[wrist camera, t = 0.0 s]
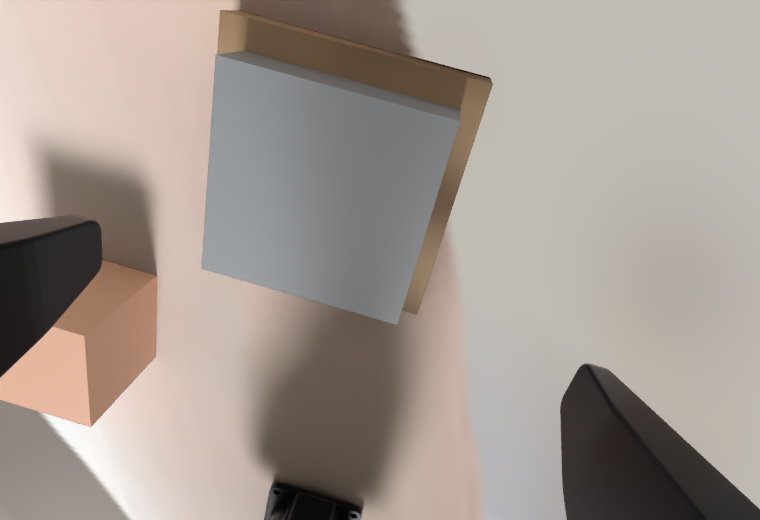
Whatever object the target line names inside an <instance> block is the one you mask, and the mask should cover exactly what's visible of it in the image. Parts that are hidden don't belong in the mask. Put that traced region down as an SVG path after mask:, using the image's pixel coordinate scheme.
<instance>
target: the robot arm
mask: <svg viewBox="0 0 760 520" xmlns="http://www.w3.org/2000/svg"><path fill="white" fill-rule="evenodd" d="M101 266H102V239H101V228H100V225H99V224H98V223H97V222H96V221H94V220H91V219H88V218H84V217H81V216H77V215H69V216H60V217H51V218H42V219H33V220H23V221H14V222H5V223H0V378H1V377H2V376H3V375H4V374H5V373H6V372H7V371H8V370H9V369H10V368H11V367H12V366H13V365H14V364H15V363H16V362H17V361H18V360H20V359H21V358H22V357H23V356H24V355H25V354H26V353H27V352H28V351H29V350H30V349H31V348H32V347H33V346H34V345H35V344H36V343H37V342H38V341H39V340H40V339H41V338H42V337H43V336H44V335H45V334H46V333H47V332H48V331H49V330H50V329H51V328H52V327H53V325H54V324H55V323H56V322H57V321H58V320H59V319H60V317H61V316H62V315H63V314H64V313H65V311H66V310H67V309H68V308H69V307H70V306H71V304H72V303H73V302H74V301H75V300H76V299H77V297H78V296H79V295H80V294H81V293H82V292H83V290H84V289H85V288H86V287H87V286H88V285H89V283H90V282H91V281H92V280H93V279H94V278H95V276H96V275H97V274H98V272H99V271H100V268H101ZM560 414H561V451H562V481H563V494H564V502H565V509H566V516H567V520H760V509H759V508H758V507H757V506H755V504H753V503H752V502H751V501H750V500H749V499H748V498H747V497H746V496H745V495H744V494H743V493H742V492H740V491H739V490H738V489H737V488H736V487H735V486H734V485H733V484H732V483H731V482H729V481H728V479H726V478H725V477H724V476H723V475H722V474H721V473H720V472H719V471H718V470H716V468H714V467H713V466H712V465H711V464H710V463H709V462H708V461H707V460H706V459H705V458H704V457H703V456H701V455H700V454H699V453H698V452H697V451H696V450H695V449H694V448H693V447H692V446H691V445H690V444H689V443H687V442H686V441H685V440H684V439H683V438H682V437H681V436H680V435H679V434H678V433H677V432H676V431H674V430H673V429H672V428H671V427H670V426H669V425H668V424H667V423H666V422H664V420H663V419H661V418H660V417H659V416H658V415H657V414H656V413H655V412H654V411H653V410H652V409H651V408H650V407H649V406H647V405H646V404H645V403H644V402H643V401H642V400H641V399H640V398H639V397H638V396H637V395H636V394H634V393H633V392H632V391H631V390H630V389H629V388H628V387H627V386H626V385H625V384H624V383H623V382H621V381H620V380H619V379H618V378H617V377H616V376H615V375H614V374H613V373H612V372H611V371H609V370H608V369H606V368H603V367H599V366H596V365H592V364H588V363H586V364H583V365H582V366H581V367H580V368H579V369H578V371H577V373H576V374H575V376H574V378H573V380H572V381H571V383H570V385H569V387H568V389H567V390H566V392H565V394H564V396H563V399H562V402H561V410H560ZM361 515H362V510H361V509H360V508H359V507H357V506H354V505H351V504H347V503H344V502H341V501H338V500H334V499H331V498H328V497H324V496H321V495H318V494H315V493H311V492H308V491H305V490H301V489H298V488H295V487H292V486H288V485H285V484H282V483H277V482H276V483H273V484H272V486H271V489H270V492H269V497H268V502H267V507H266V513H265V518H264V520H360V519H361Z"/></svg>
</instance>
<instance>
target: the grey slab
mask: <svg viewBox="0 0 760 520" xmlns="http://www.w3.org/2000/svg"><path fill="white" fill-rule="evenodd" d="M460 112H461V109H457V108H453V107H450V106H446V105H442V104H439V103H435V102H431V101H428V100H424V99H420V98H417V97H413V96H409V95H406V94H402V93H398V92H394V91H391V90H387V89H383V88H380V87H376V86H372V85H369V84H365V83H361V82H358V81H354V80H350V79H347V78H343V77H339V76H336V75H332V74H328V73H325V72H321V71H317V70H314V69H310V68H306V67H303V66H299V65H295V64H292V63H288V62H284V61H280V60H277V59H273V58H269V57H266V56H262V55H258V54H255V53H251V52H247V51H238V52H231V53H224V54H217V55H216V58H215V74H214V89H213V104H212V119H211V134H210V149H209V164H208V179H207V194H206V210H205V225H204V240H203V255H202V269H204V270H208V271H211V272H215V273H218V274H222V275H225V276H229V277H232V278H235V279H239V280H242V281H246V282H249V283H253V284H256V285H260V286H263V287H267V288H270V289H274V290H277V291H281V292H284V293H288V294H291V295H294V296H298V297H301V298H305V299H308V300H312V301H315V302H319V303H322V304H326V305H329V306H333V307H336V308H340V309H343V310H347V311H350V312H353V313H357V314H360V315H364V316H367V317H371V318H374V319H378V320H381V321H385V322H388V323H392V324H395V325H398V322H399V318H400V315H401V312H402V309H403V305H404V302H405V299H406V296H407V292H408V289H409V286H410V282H411V279H412V276H413V273H414V269H415V266H416V263H417V260H418V256H419V253H420V250H421V247H422V243H423V240H424V237H425V234H426V230H427V227H428V224H429V221H430V217H431V214H432V211H433V208H434V204H435V201H436V198H437V195H438V191H439V188H440V185H441V182H442V178H443V175H444V172H445V169H446V165H447V162H448V159H449V156H450V152H451V149H452V146H453V143H454V139H455V136H456V133H457V130H458V126H459V123H460Z"/></svg>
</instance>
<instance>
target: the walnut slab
mask: <svg viewBox="0 0 760 520" xmlns="http://www.w3.org/2000/svg"><path fill="white" fill-rule="evenodd" d="M238 51H247V52H251V53H255V54H258V55H262V56H266V57H269V58H273V59H277V60H280V61H284V62H288V63H292V64H295V65H299V66H303V67H306V68H310V69H314V70H317V71H321V72H325V73H328V74H332V75H336V76H339V77H343V78H347V79H350V80H354V81H358V82H361V83H365V84H369V85H372V86H376V87H380V88H383V89H387V90H391V91H394V92H398V93H402V94H406V95H409V96H413V97H417V98H420V99H424V100H428V101H431V102H435V103H439V104H442V105H446V106H450V107H453V108H457V109H461V112H460V123H459V126H458V130H457V133H456V136H455V139H454V143H453V146H452V149H451V152H450V156H449V159H448V162H447V165H446V169H445V172H444V175H443V178H442V182H441V185H440V188H439V191H438V195H437V198H436V201H435V204H434V208H433V211H432V214H431V217H430V221H429V224H428V227H427V230H426V234H425V237H424V240H423V243H422V247H421V250H420V253H419V256H418V260H417V263H416V266H415V269H414V273H413V276H412V279H411V282H410V286H409V289H408V292H407V296H406V299H405V302H404V305H403V309H402V310H403V311H406V312H410V313H413V314H417V313H418V310H419V307H420V304H421V301H422V298H423V295H424V292H425V288H426V285H427V282H428V279H429V276H430V273H431V270H432V267H433V264H434V261H435V258H436V255H437V252H438V249H439V246H440V243H441V240H442V237H443V234H444V231H445V228H446V225H447V222H448V219H449V216H450V212H451V209H452V206H453V203H454V200H455V197H456V194H457V191H458V188H459V185H460V182H461V179H462V176H463V173H464V170H465V167H466V164H467V161H468V158H469V155H470V152H471V149H472V146H473V143H474V140H475V136H476V133H477V130H478V127H479V124H480V121H481V118H482V115H483V112H484V109H485V106H486V103H487V100H488V97H489V94H490V91H491V88H492V85H493V84H492V81H491V79H490V77H487V76H483V75H479V74H476V73H472V72H468V71H464V70H461V69H457V68H454V67H450V66H446V65H442V64H438V63H435V62H432V61H428V60H424V59H420V58H417V57H415V58H411V57H408V56H404V55H400V54H396V53H393V52H389V51H385V50H382V49H378V48H374V47H371V46H367V45H363V44H360V43H356V42H352V41H349V40H345V39H341V38H338V37H334V36H330V35H326V34H323V33H319V32H315V31H312V30H308V29H304V28H301V27H297V26H293V25H290V24H286V23H282V22H279V21H275V20H271V19H268V18H264V17H260V16H256V15H253V14H249V13H245V12H242V11H228V10H220V22H219V36H218V51H217V54H224V53H231V52H238Z"/></svg>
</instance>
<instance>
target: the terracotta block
mask: <svg viewBox="0 0 760 520" xmlns="http://www.w3.org/2000/svg"><path fill="white" fill-rule="evenodd" d="M156 315H157V276H156V275H153V274H150V273H146V272H143V271H139V270H136V269H132V268H129V267H126V266H122V265H119V264H115V263H112V262H108V261H105V260H102V266H101V268H100V271H99V272H98V274H97V275H96V276H95V278H94V279H93V280H92V281H91V282H90V283H89V285H88V286H87V287H86V288H85V289H84V290H83V292H82V293H81V294H80V295H79V296H78V297H77V299H76V300H75V301H74V302H73V303H72V304H71V306H70V307H69V308H68V309H67V310H66V311H65V313H64V314H63V315H62V316H61V317H60V319H59V320H58V321H57V322H56V323H55V324H54V325H53V327H52V328H51V329H50V330H49V331H48V332H47V333H46V334H45V335H44V336H43V337H42V338H41V339H40V340H39V341H38V342H37V343H36V344H35V345H34V346H33V347H32V348H31V349H30V350H29V351H28V352H27V353H26V354H25V355H24V356H23V357H22V358H21V359H20V360H18V361H17V362H16V363H15V364H14V365H13V366H12V367H11V368H10V369H9V370H8V371H7V372H6V373H5V374H4V375H3V376H2V377H1V378H0V400H3V401H7V402H10V403H13V404H16V405H20V406H23V407H26V408H30V409H33V410H36V411H39V412H43V413H46V414H49V415H53V416H56V417H59V418H62V419H66V420H69V421H72V422H76V423H79V424H82V425H85V426H89V427H91V426H92V425H93V424H94V423H95V422H96V421H97V420H98V419H99V418H100V417H101V416H102V414H103V413H104V412H105V411H106V410H107V409H108V408H109V407H110V406H111V405H112V404H113V403H114V401H115V400H116V399H117V398H118V397H119V396H120V395H121V394H122V393H123V392H124V391H125V390H126V388H127V387H128V386H129V385H130V384H131V383H132V382H133V381H134V380H135V379H136V378H137V376H138V375H139V374H140V373H141V372H142V371H143V370H144V369H145V368H146V367H147V366H148V365H149V363H150V362H151V361H152V360H153V359H154V358H155V357H156Z"/></svg>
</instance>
